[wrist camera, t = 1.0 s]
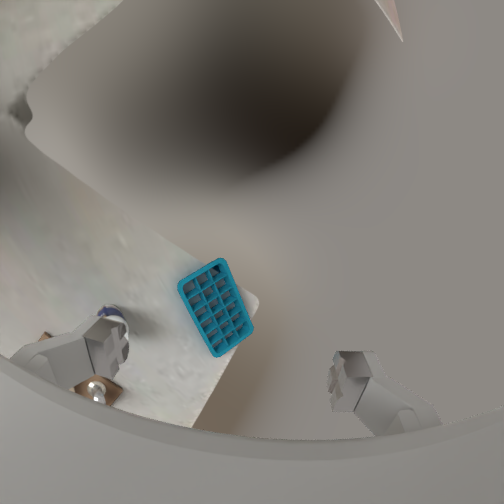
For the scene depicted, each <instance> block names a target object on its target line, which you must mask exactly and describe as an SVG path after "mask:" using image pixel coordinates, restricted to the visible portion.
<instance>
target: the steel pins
mask: <svg viewBox="0 0 504 504" xmlns="http://www.w3.org/2000/svg"><path fill="white" fill-rule="evenodd" d="M87 390H88V393H89V394H90V395H91V396H93V400H94V401H97V402H100V403H102V404H105V405H106V401H105V398H104V394H105V392H106V388H105V385H104V384H103V383H102V382H100V381H91V382H90V383H89V384H88V386H87Z"/></svg>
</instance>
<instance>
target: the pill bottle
mask: <svg viewBox="0 0 504 504" xmlns="http://www.w3.org/2000/svg"><path fill="white" fill-rule="evenodd" d="M96 315H97V316H100V317H104V318H108V319H112V320H115V321H119V322H123V323H124V324H125V325H126V331H127V332H126V334H125V335H124V336H125V337H126V339H127V340H128V339H129V336H128V335H129V327H128V324H127V322H126V320H125V318H124V317H123V315H122V313H121V311H120V310H119V309H118V308H117V307H116V306H114V305H104V306H102V307H101V308H100V309H99V310H98V311H97V314H96Z"/></svg>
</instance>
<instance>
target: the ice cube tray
mask: <svg viewBox="0 0 504 504" xmlns="http://www.w3.org/2000/svg"><path fill="white" fill-rule="evenodd" d="M210 268H212V269H214V270H215V271H217V272H218V274H217V275H215V276H214V277H212V276H211V273H210V271H209V269H210ZM204 272H205V274H206V277H207V279H208V280H207V281H206V282H204V283H202V284H201V285H199V283H198V281H197V279H196V277H197V276H199V275H200V274H202V273H204ZM222 278H223V279H224V281H225V283H226V284H225V285H223V286H222V287H220V288H219V289H217V287H216V285H215V283H216V282H217V281H219V280H221V279H222ZM190 280H192V281H193V283H194V285H195V287H196V288H194V289H193V290H191V291H189V292H188V293H186V294H184V292H183V286H184V284H185V283H187V282H189V281H190ZM210 286H211V288H212V290H213V292H212V293H211V294H209V295H208V296H206V297H205V296H204V294H203V292H202V291H203V290H205V289H206V288H208V287H210ZM177 288H178V292H179V294H180V296H181V298H182V300H183V302H184V304H185V306H186V308H187V309H188V311H189V313H190V315H191V317H192V319H193V321H194V323H195V325H196V326H197V328H198V330H199V332H200V334H201V336H202V337H203V339H204V341H205V343H206V345H207V346H208V348H209V350H210V352H211V353H212V355H213V356H214V357H216V358H217V357H221V356H222V355H223V354H225V353H226V352H227V351H229V350H230V349H232V348H233V347H234V346H236V345H237V344H238V343H240V342H241V341H242V340H244V339H245V338H246V337H248V336H249V335H250V334H252V332H253V328H254V327H253V325H252V323H251V320H250V318H249V315H248V313H247V311H246V308H245V306H244V303H243V301H242V299H241V296H240V294H239V291H238V289H237V286H236V284H235V282H234V279H233V277H232V274H231V272H230V269H229V267H228V264H227V262H226V260H224V259H223V258H218V259H216V260H214V261H212V262H210V263H208V264H207V265H206V266H204V267H202V268H201V269H199V270H197V271H196V272H194V273H192V274H191V275H189V276H187V277H186V278H184V279H182V280H181V281H179V283H178V285H177ZM228 290H229V293H230V296H229V297H227V298H226V299H224V300H223V301H222V298H221V296H220V295H222V294H223V293H225V292H226V291H228ZM198 293H199V295H200V297H201V300H200V301H198V302H197V303H195V304H194V305H192V306H190V304H189V302H188V300H189V299H190V298H192V297H194V296H195V295H197V294H198ZM214 299H217V301H218V304H217V305H215V306H214V307H212V308H211V309H210V307H209V305H208V303H209V302H211V301H212V300H214ZM232 302H234V304H235V307H233V308H232V309H230V310H229V311H227V309H226V306H228V305H229V304H231V303H232ZM203 306H205V308H206V310H207V311H206V312H205V313H203V314H202V315H200V316H198V317H196V315H195V314H194V312H196V311H197V310H199V309H200V308H202V307H203ZM220 310H222V312H223V315H222V316H220V317H219V318H217V319H215V317H214V315H215V314H216V313H217V312H219V311H220ZM237 313H238V314H239V316H240V317H238V318H237V319H235V320H234V321H232V320H231V317H233V316H234V315H236V314H237ZM209 318H211V320H212V322H211V323H210V324H208V325H207V326H205V327H204V328H202V327H201V325H200V324H201V323H203V322H204V321H206V320H207V319H209ZM226 321H227V322H228V325H227V326H225V327H224V328H222V329H220V327H219V326H220V325H221V324H223V323H224V322H226ZM242 323H243V326H242V328H241V329H239V330H238V331H236V329H235V328H237V327H238V326H240V325H241V324H242ZM214 329H216V330H217V333H215V334H214V335H212V336H211V337H209V338H207V336H206V335H207V334H208V333H210V332H211V331H213V330H214ZM231 331H232V333H233V334H232V335H231V336H229V337H228V338H227V339H225V337H224V336H226V335H227V334H228V333H230V332H231ZM220 339H222V342H221V343H220V344H218V345H217V346H215V347H214V348H213V347H212V345H213V344H214V343H216V342H217V341H219V340H220Z"/></svg>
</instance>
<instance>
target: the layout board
mask: <svg viewBox="0 0 504 504" xmlns="http://www.w3.org/2000/svg"><path fill="white" fill-rule="evenodd" d="M49 338H52V337H51V336H50V335H49V334H47V333H46V332H44V334H43V335H42V336H41V338H40V339H39V341H42V340H45V339H49ZM91 381H100V382H102V383H103V384H104V385H105V388H106V392H105V394H104V398H105V401H106V405H108V406H111V404H112V403H113V402H114V401H115V400H116V399H117V398H118V396H119V395H120V394H121V393H122V392H123V390H122V388H121V387H119V386H118V385H116V384H115V383H113V382H111V381H110V380H108V379H107V378H105V377H102V376H99V375H96V374H95V375H94V376H92V377H90V378H89V379H87V380H85V381H83V382H81V383H79V384H78V385H76V386H74V387H72V388H70V389H68V390H70V391H72V392H75V393H77V394H79V395H82V396H84V397H87V398H89V399H92V400H93V396H91V395H90V394H89V393H88V390H87V386H88V384H89V383H90V382H91Z"/></svg>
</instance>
